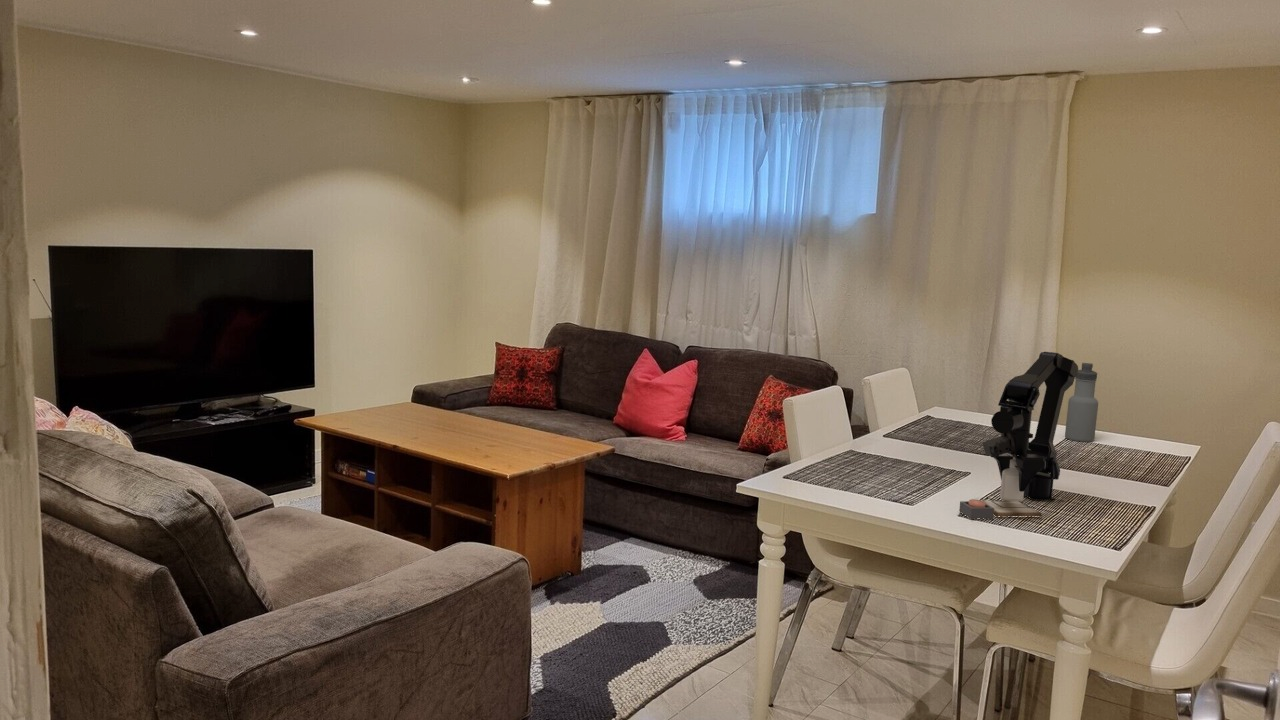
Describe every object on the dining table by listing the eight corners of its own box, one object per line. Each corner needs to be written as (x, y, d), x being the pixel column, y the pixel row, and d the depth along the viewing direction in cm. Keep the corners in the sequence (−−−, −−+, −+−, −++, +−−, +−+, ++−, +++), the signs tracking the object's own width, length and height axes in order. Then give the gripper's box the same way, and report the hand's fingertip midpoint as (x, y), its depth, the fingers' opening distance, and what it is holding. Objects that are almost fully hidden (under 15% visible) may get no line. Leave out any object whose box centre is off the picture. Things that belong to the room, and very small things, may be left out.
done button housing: (980, 512, 237) (982, 501, 236) (992, 519, 231) (994, 508, 231) (959, 512, 236) (960, 501, 236) (970, 519, 230) (971, 508, 230)
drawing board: (1017, 505, 245) (1018, 499, 245) (1041, 517, 234) (1041, 512, 234) (975, 505, 244) (976, 499, 243) (997, 517, 233) (997, 512, 233)
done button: (979, 506, 236) (980, 499, 235) (987, 511, 232) (988, 504, 231) (965, 507, 235) (965, 499, 235) (972, 511, 231) (973, 504, 231)
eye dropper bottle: (1021, 503, 237) (1025, 458, 235) (998, 499, 240) (1002, 455, 238) (1024, 499, 241) (1028, 455, 239) (1001, 495, 244) (1005, 451, 242)
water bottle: (1064, 435, 341) (1072, 360, 337) (1094, 438, 337) (1102, 363, 333) (1064, 440, 332) (1072, 363, 328) (1094, 443, 328) (1102, 366, 324)
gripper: (971, 420, 246) (966, 477, 248) (1008, 436, 227) (1002, 497, 230) (1010, 421, 247) (1004, 477, 249) (1049, 436, 229) (1043, 497, 231)
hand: (1012, 486), depth 240 cm, fingers closed on eye dropper bottle, 8 cm apart
